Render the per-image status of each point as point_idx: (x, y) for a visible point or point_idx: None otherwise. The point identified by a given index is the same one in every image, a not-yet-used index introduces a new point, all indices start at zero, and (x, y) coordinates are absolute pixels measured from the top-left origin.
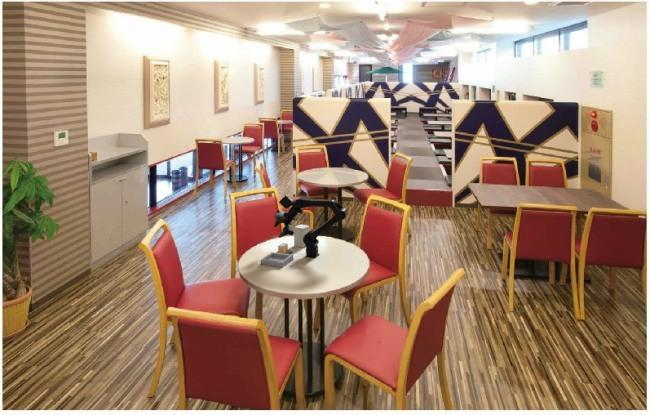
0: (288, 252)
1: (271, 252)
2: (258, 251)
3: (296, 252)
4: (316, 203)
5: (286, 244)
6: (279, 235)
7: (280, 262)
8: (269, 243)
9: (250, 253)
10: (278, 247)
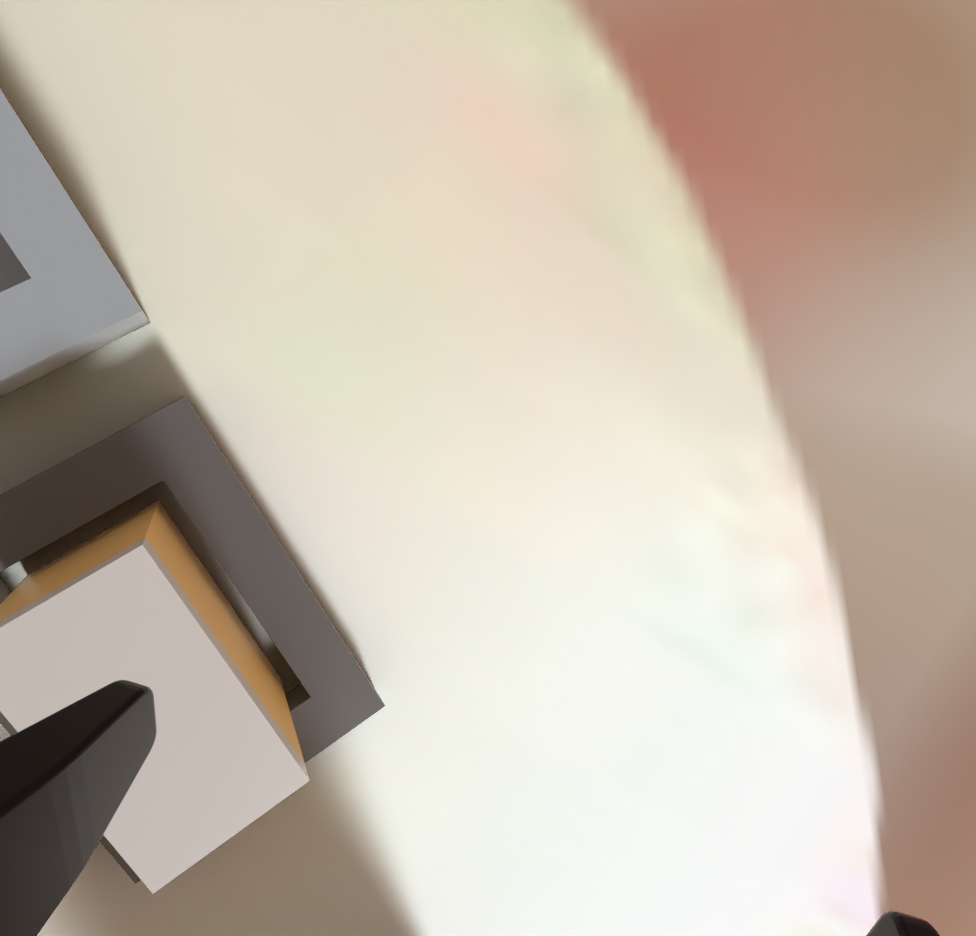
0: None
1: (119, 285)
2: (615, 309)
3: (52, 929)
4: None
5: None
6: (44, 757)
7: None
8: (803, 679)
9: (620, 125)
10: (132, 541)
